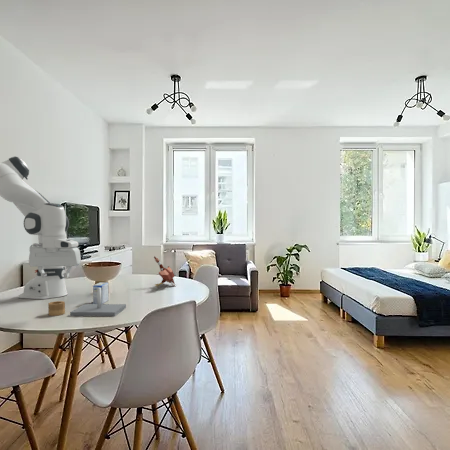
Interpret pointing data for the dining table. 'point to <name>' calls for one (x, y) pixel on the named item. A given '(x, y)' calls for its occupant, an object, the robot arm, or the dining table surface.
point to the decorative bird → (165, 273)
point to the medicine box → (103, 292)
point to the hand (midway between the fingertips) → (55, 277)
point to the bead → (56, 308)
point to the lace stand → (98, 308)
